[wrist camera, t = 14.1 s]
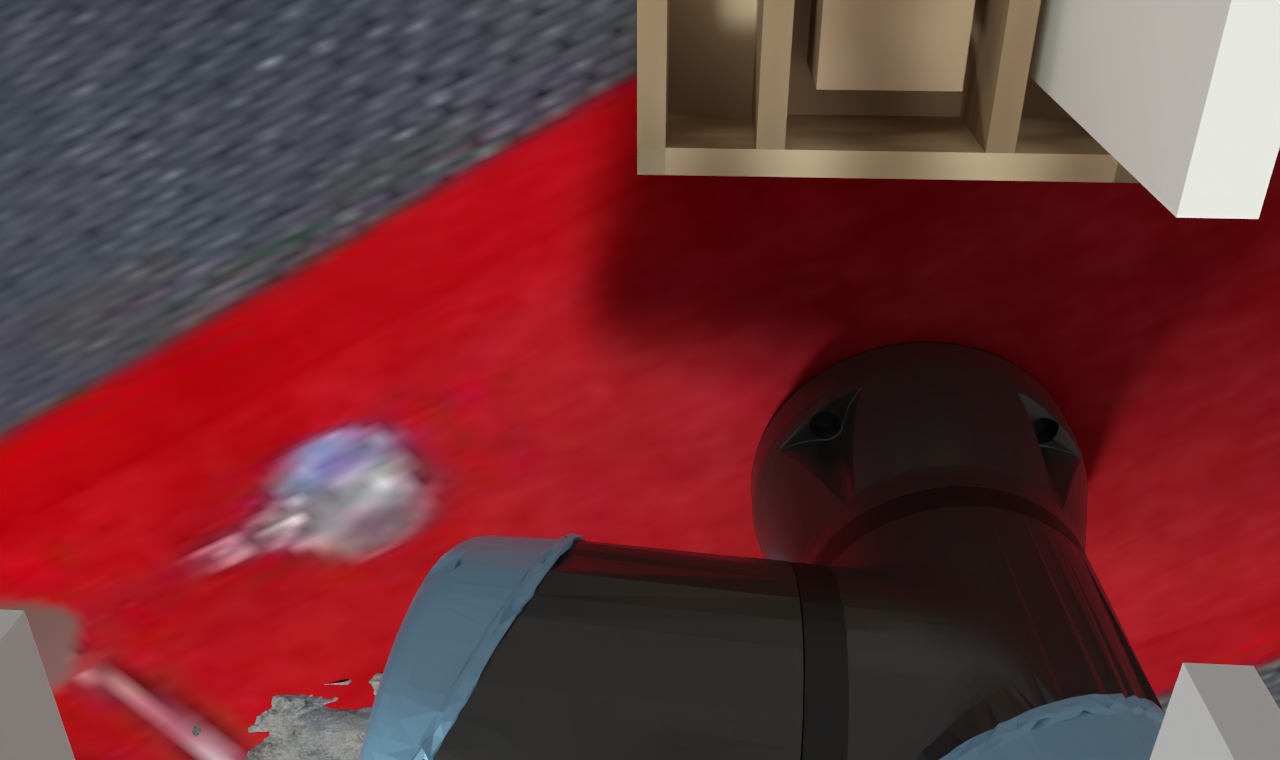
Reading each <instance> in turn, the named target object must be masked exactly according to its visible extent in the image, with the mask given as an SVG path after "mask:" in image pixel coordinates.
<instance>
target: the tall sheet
mask: <svg viewBox="0 0 1280 760" xmlns="http://www.w3.org/2000/svg"><path fill="white" fill-rule="evenodd" d="M1028 76H1030V77H1031V78H1032V79H1033V80H1034V81H1035V82H1036V83H1037V84H1038V85H1039V86H1040V87H1041V88H1042V89H1043V90H1044V91H1045V92H1046V93H1047V94H1048V95H1049V96H1050V97H1051V98H1052V99H1053V100H1054V101H1056V102H1057V103H1058V104H1059V105H1060V106H1061V107H1062V108H1063V109H1064V110H1065V111H1066V112H1067V113H1068V114H1069V115H1070V116H1071V117H1072V118H1073V119H1074V120H1075V121H1076V122H1077V123H1078V124H1079V125H1081V126H1082V127H1083V128H1084V129H1085V130H1086V131H1087V132H1088V133H1089V134H1090V135H1091V136H1092V137H1093V138H1094V139H1095V140H1096V141H1097V142H1098V143H1099V144H1100V145H1101V146H1102V147H1103V148H1104V149H1105V150H1107V151H1108V152H1109V153H1110V154H1111V155H1112V156H1113V157H1114V158H1115V159H1116V160H1117V161H1118V162H1119V163H1120V164H1121V165H1122V166H1123V167H1124V168H1125V169H1126V170H1127V171H1128V172H1129V173H1130V174H1131V175H1133V176H1134V177H1135V178H1136V179H1137V180H1138V181H1139V182H1140V183H1141V184H1142V185H1143V186H1144V187H1145V188H1146V189H1147V190H1148V191H1149V192H1150V193H1151V194H1152V195H1153V196H1154V197H1155V198H1156V199H1157V200H1159V201H1160V202H1161V203H1162V204H1163V205H1164V206H1165V207H1166V208H1167V209H1168V210H1169V211H1170V212H1171V213H1172V214H1173V215H1174V216H1175V217H1176V218H1226V219H1259V216H1260V213H1261V209H1262V206H1263V202H1264V199H1265V195H1266V192H1267V189H1268V185H1269V182H1270V178H1271V175H1272V172H1273V168H1274V165H1275V161H1276V158H1277V154H1278V151H1279V148H1280V0H1041V4H1040V9H1039V15H1038V21H1037V27H1036V33H1035V39H1034V44H1033V50H1032V56H1031V62H1030V68H1029V73H1028Z"/></svg>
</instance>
